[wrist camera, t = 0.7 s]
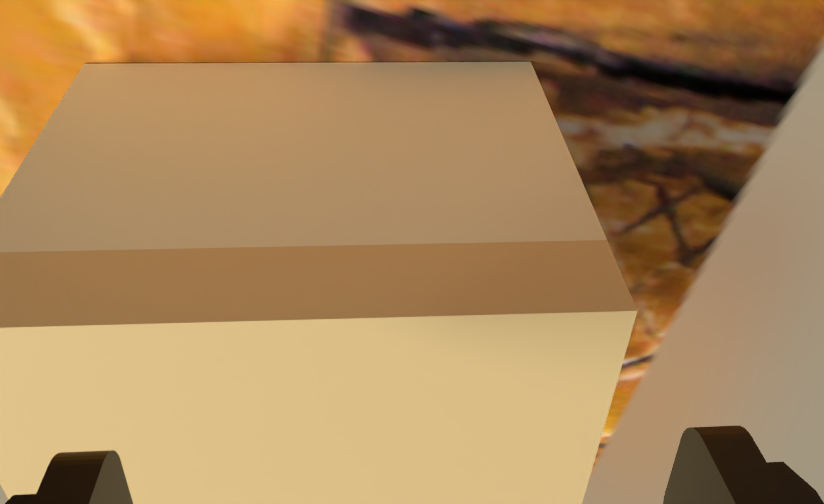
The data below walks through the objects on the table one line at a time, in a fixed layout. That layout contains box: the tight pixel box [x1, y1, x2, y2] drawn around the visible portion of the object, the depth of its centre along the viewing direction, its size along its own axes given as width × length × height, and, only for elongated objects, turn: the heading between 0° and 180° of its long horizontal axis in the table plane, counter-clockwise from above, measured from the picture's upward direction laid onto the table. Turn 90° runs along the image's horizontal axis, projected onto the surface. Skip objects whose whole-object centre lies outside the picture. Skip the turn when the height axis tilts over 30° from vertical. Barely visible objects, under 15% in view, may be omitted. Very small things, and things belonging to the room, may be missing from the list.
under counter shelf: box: [0, 62, 637, 504], centre depth 25 cm, size 12×15×12 cm
